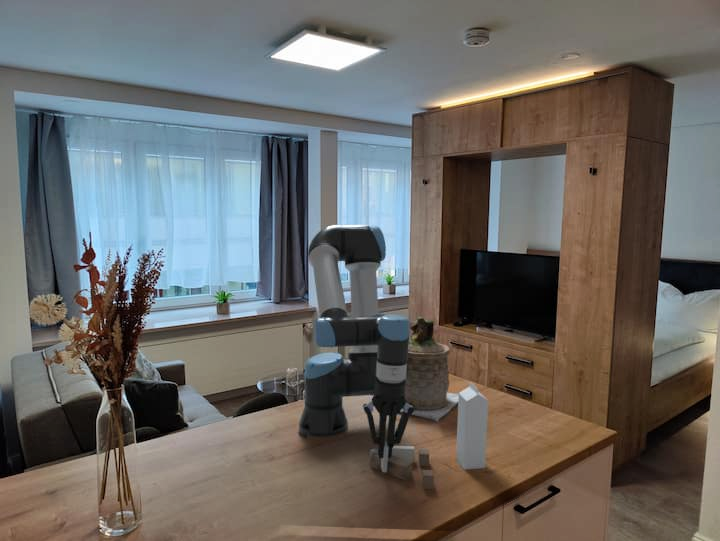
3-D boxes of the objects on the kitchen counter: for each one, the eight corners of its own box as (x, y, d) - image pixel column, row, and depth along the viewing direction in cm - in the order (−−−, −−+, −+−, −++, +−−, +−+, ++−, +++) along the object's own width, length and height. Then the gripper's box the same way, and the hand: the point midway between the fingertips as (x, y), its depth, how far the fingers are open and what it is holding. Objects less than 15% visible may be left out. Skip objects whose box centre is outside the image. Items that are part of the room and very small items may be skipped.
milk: (476, 457, 134) (480, 380, 132) (485, 468, 129) (489, 388, 126) (455, 458, 134) (458, 381, 131) (463, 470, 128) (467, 389, 125)
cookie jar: (465, 399, 176) (468, 313, 172) (438, 424, 155) (442, 326, 152) (404, 386, 189) (406, 305, 185) (372, 407, 168) (374, 317, 165)
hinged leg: (367, 465, 126) (367, 452, 126) (374, 461, 129) (374, 447, 128) (405, 480, 119) (406, 466, 119) (412, 475, 122) (412, 461, 121)
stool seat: (363, 494, 116) (363, 474, 115) (365, 462, 131) (365, 444, 130) (435, 497, 115) (435, 476, 114) (428, 464, 130) (429, 446, 129)
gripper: (367, 383, 114) (361, 477, 117) (419, 384, 116) (411, 477, 119) (363, 373, 122) (357, 462, 124) (411, 374, 124) (404, 461, 126)
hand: (383, 469), depth 121 cm, fingers closed
